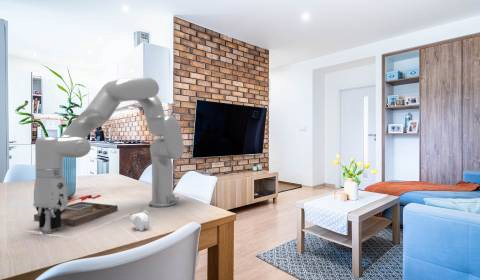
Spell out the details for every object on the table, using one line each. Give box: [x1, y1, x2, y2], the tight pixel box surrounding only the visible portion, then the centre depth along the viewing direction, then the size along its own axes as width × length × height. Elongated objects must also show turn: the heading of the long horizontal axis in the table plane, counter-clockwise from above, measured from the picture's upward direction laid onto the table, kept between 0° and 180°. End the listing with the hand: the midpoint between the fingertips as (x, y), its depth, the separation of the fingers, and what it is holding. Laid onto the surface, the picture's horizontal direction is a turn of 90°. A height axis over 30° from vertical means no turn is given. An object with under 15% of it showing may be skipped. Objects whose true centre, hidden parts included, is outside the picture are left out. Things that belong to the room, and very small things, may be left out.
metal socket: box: [65, 204, 93, 216], centre depth 107 cm, size 7×7×2 cm
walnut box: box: [33, 201, 119, 227], centre depth 103 cm, size 20×20×3 cm
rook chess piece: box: [41, 208, 58, 235], centre depth 87 cm, size 4×4×8 cm
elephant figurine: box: [130, 210, 150, 232], centre depth 91 cm, size 7×8×6 cm
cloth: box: [68, 194, 102, 203], centre depth 127 cm, size 26×14×2 cm, turn 136°
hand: (50, 226), depth 87 cm, fingers closed on rook chess piece, 4 cm apart
